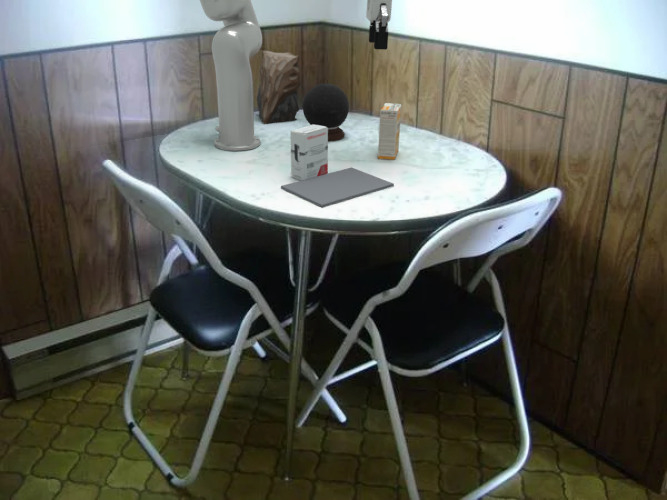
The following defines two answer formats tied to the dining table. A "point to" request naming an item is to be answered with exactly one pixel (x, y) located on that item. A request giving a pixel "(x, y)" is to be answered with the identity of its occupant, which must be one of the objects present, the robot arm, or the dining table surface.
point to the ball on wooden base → (327, 109)
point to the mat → (336, 186)
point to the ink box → (309, 152)
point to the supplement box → (389, 131)
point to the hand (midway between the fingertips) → (377, 45)
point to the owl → (278, 87)
